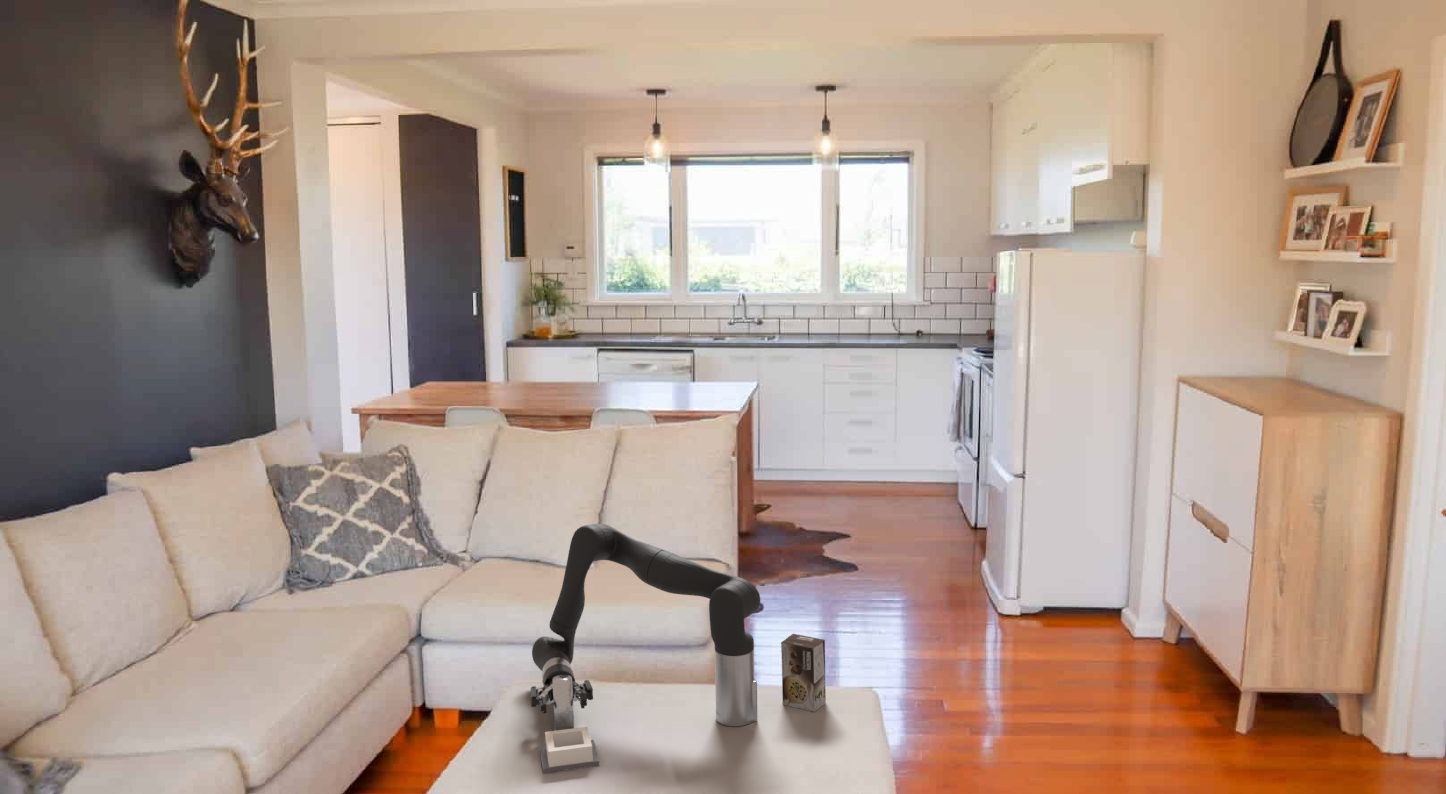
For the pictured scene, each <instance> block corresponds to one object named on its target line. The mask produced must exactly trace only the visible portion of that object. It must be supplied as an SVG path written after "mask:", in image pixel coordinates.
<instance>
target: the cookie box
mask: <svg viewBox="0 0 1446 794" xmlns="http://www.w3.org/2000/svg"><path fill="white" fill-rule="evenodd" d="M780 644H781V645H780V647H781V650H780V651H781V680H782V682H781V683H782V691H781V692H782V694H781V695H782V705H783V706H788V707H791V708H792V707H793V708H797V709H801V710H806V711H810V712H812V713H813V712H817V711H818V710H819V709H820V708H821V707H823V706H824V705H825V704H826V702H827V701H826V695H827V694H826V639H822V638H819V637H812V636H807V635H802V634H796V633H792V634H790V635H789V636H788V637H787V638H786V639H784V640H783V641H781V642H780Z"/></svg>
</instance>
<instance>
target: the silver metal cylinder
mask: <svg viewBox="0 0 1446 794" xmlns="http://www.w3.org/2000/svg"><path fill="white" fill-rule="evenodd" d="M552 680H553V701H554V702H553V718H554V719H553V720H554V721H553V722H554V731H557V730H565V729H573V728H575V718H574V717H575V716H574V714H575V713H574V701H573V696H574V695H573V689H572V677H571V676H570V675H558V676H555V677H554V678H553V679H552Z"/></svg>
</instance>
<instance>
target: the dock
mask: <svg viewBox="0 0 1446 794" xmlns="http://www.w3.org/2000/svg"><path fill="white" fill-rule="evenodd" d="M544 734H545V735H544V738H545V741H544V742H545V745H544V746H540V747H539V752H540V753H539V754H540V761H541V767H542V773H543V774H547V773H552V772H553V773H554V772H560V771H561V772H562V771H568V770H576V769H584V768H592V767H597V766H600V759H599V756H598V752H597V748H596V743H595V740H594V739H591V735H590V732H589V728H588V726H582V727H574V728H573V729H565V730H557V731H555V730H552V731H551V730H550V731H545V732H544Z"/></svg>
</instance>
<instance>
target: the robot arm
mask: <svg viewBox="0 0 1446 794" xmlns="http://www.w3.org/2000/svg"><path fill="white" fill-rule="evenodd" d="M572 535H573V536H572V538H571V541H570V545H569V549H568V553H567V555H568V556H567V560H566V565H565V570H564V575H563V580H562V585H561V589H560V592H559V596H558V598H557V601H556V603H555V604H556V605H555V607H554V610H553V613H552V615H551V618H550V621H549V625H548V626H549V629H550V631H551V632H553V633H554V634H556V635H558V636H560V637H561V638H562V639H558V638H554V637H551V636H550V637H549V636H541V637H538V639H536V640H535V642H534V643H533V645H532V648H531V649H532V650H531V655H532V656H531V657H532V661H533V663H534V664H535V666H536V667H537V668H538V669H539V670H540V671H541V677H542V678H541V679H542V680H541V681H542V682H541V683H542V684H543V686H542V688H537V687H536V685H535V686H534V685H533V686H531V687H530V704H531V707H532V708H536V707H537V706H539V710H540V712H542V713H543V714H547V712H548V711H547V709H548V708H547V705H548V706H550V705H551V704H552V703H554V701H553V680H552V679H553V678H554V677H555V676H558V675H570V676H571V677H572V689H573V702H577V701H578V702H579V704H580V709H585V707H587V706H588V701H592V700H594V693H593V692H594V689H593V686H592V684H591V682H590V680H588V679H586V680H584V681H583V682H582V683H578V682H576V678H575V674H574V671H573V667H572V665H571V664H572V662H573V659H574V654H575V653H574V651H575V650H574V647H575V637H576V632H577V628H578V625H579V623H580V620H581V618H582V615H583V612H584V610H585V609H584V608H585V605H586V604H585V602H586V598H585V597H586V595H585V594H586V593H585V583H586V578H587V574H588V571H589V570H590V568H591V566H592V564H593V563H594V562H597V561H598V562H599V561H608V562H613V563H616V564H619V565H622V566H624V567H626V568H628V569H630V571H632V572H633V573H634V575H636V577H637V578H638V579H639V580H641V581H642V582H643V583H645V584H646V585H648V586H650V587H653V588H655V589H658V590H659V591H663V592H665V593H668V594H675V595H683V596H694V597H695V596H696V597H703V598H707V599H709V603H708V613H709V625H710V629H709V630H710V636H711V639H712V641H713V645H714V671H715V672H714V673H715V674H714V675H715V679H714V681H715V682H714V683H715V685H714V686H715V717H716V721H717V722H718V723H719V724H721V725H724V726H727V727H742V726H747V725H749V724H752V723H753V722H758V720H759V719H758V683H757V680H756V679H755V643H754V642H755V641H754V637H753V635H751V634H750V633H749V632H747V631H746V630H745V619H746V618H748V617H750V616H751V615H752V614H754V613H755V612H756V610H758V608H759V607H760V604H761V596H760V592H759V590H758V588H757V587H756V586H755V585H754V584H753V583H752V582H751V581H749V580H747V579H746V578H742V577H739V576H735V575H731V574H728V573H725V572H721V571H718V570H715V569H712V568H709V567H706V566H704V565H702V564H699V563H697V562H694V561H692V560H690V559H687V558H685V557H681V556H680V555H677V554H675V553H672V552H671V551H668V550H665V549H662V548H659V547H657V546H655V545H652V544H650V543H646V542H642V541H639V540H637V539H634V538H632V537H631V536H628V535H627V534H625V533H623V532H621V531H620V530H618V529H616V527H613V526H611V525H608V524H604V523H595V524H594V523H593V524H587V525H581V526H579V528H577V529H576V530H575V531H574V532H573V534H572Z"/></svg>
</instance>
